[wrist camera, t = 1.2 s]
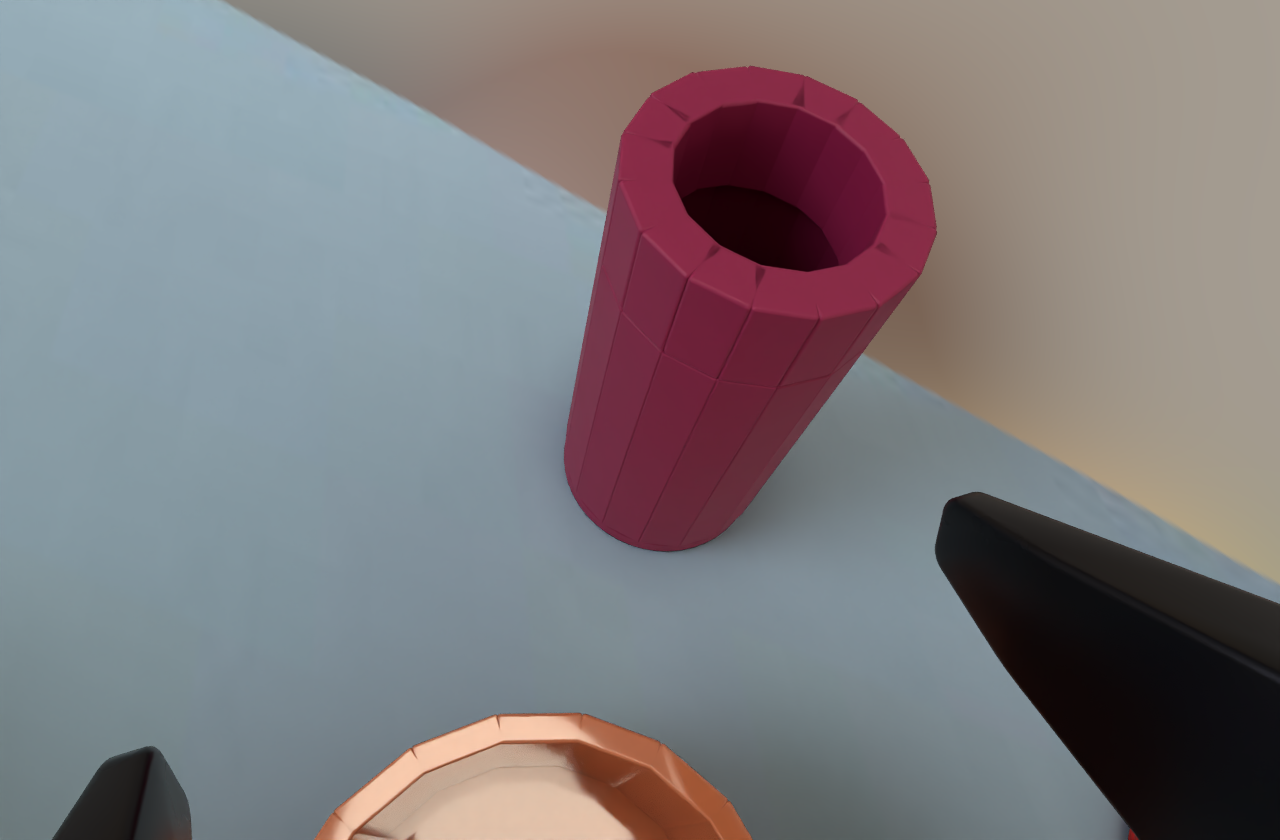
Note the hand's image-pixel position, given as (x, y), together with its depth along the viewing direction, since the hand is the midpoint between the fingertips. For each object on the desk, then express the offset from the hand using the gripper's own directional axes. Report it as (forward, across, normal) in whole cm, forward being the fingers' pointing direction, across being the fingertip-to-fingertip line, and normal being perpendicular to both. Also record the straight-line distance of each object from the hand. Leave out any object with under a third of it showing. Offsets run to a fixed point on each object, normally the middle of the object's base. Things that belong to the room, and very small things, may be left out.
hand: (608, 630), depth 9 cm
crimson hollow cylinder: (+14, -6, +9) cm, 18 cm away
